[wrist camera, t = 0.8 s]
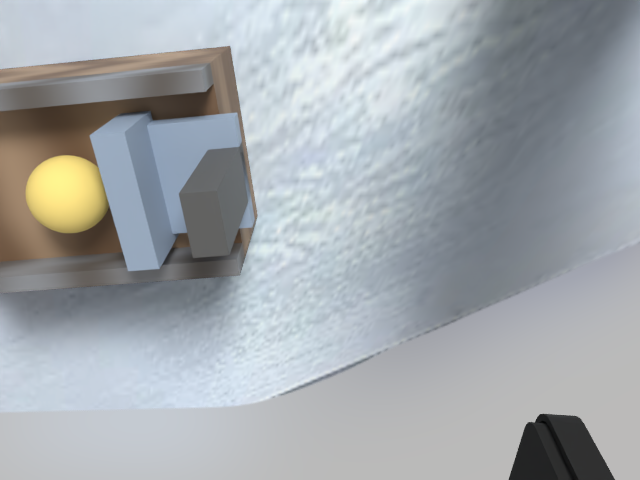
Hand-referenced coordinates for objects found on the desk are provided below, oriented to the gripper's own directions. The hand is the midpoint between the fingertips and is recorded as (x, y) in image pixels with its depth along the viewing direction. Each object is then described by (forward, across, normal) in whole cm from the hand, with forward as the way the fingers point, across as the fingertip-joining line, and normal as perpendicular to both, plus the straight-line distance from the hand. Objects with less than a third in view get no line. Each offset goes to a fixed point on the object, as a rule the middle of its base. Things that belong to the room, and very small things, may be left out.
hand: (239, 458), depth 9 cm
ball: (+20, +12, +4) cm, 23 cm away
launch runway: (+28, +12, +4) cm, 31 cm away
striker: (+22, +6, +3) cm, 23 cm away
